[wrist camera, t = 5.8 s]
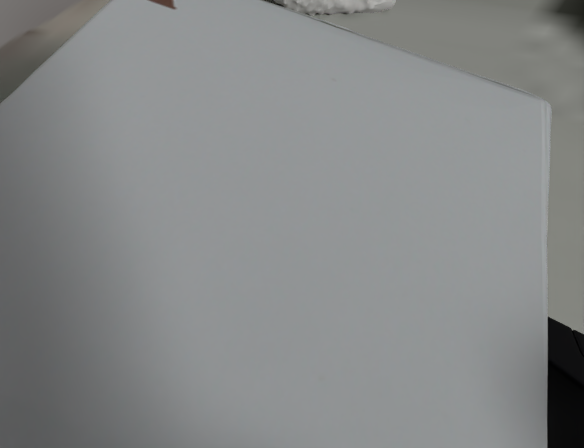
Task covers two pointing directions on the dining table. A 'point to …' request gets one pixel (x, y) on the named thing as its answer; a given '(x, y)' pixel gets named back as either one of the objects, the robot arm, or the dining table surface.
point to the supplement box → (268, 240)
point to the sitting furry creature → (336, 6)
